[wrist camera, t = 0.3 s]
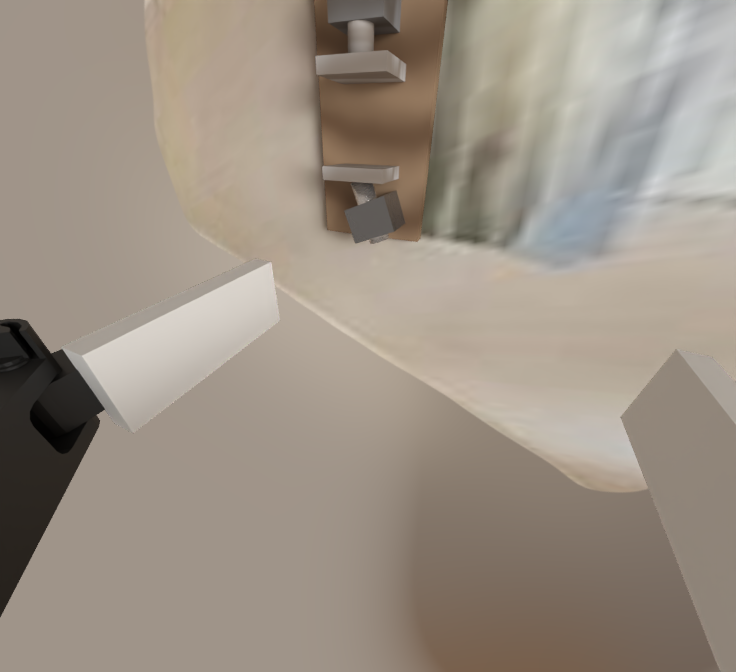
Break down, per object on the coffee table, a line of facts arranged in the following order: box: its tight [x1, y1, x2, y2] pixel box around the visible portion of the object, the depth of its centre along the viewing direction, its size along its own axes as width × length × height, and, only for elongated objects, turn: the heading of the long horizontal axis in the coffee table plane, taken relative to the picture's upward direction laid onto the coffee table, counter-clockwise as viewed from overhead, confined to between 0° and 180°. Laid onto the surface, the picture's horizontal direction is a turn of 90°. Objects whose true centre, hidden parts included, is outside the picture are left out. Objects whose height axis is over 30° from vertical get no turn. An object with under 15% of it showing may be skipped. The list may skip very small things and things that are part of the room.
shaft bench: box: [314, 0, 448, 242], centre depth 29 cm, size 22×12×7 cm, turn 179°
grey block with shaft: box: [344, 182, 405, 244], centre depth 32 cm, size 6×5×4 cm
